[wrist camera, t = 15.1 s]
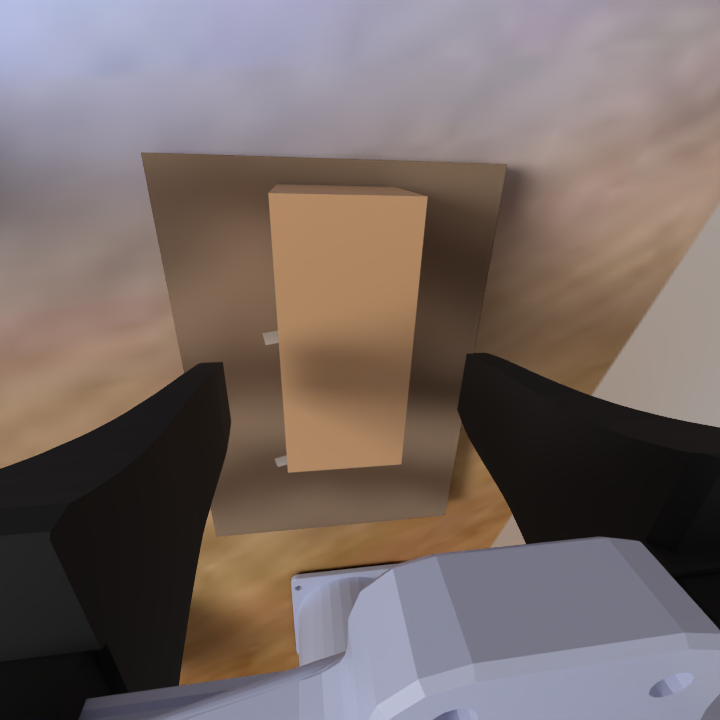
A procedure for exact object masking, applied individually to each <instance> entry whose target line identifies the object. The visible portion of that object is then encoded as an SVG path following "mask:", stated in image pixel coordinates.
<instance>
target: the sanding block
mask: <svg viewBox="0 0 720 720" xmlns="http://www.w3.org/2000/svg"><path fill="white" fill-rule="evenodd" d="M268 196H269V210H270V224H271V239H272V253H273V267H274V281H275V296H276V310H277V324H278V338H279V353H280V367H281V381H282V396H283V410H284V424H285V438H286V453H287V467H288V473H291V472H304V471H318V470H331V469H345V468H358V467H372V466H385V465H399V464H401V462H402V452H403V442H404V432H405V421H406V411H407V401H408V391H409V381H410V371H411V360H412V350H413V340H414V330H415V320H416V309H417V299H418V289H419V279H420V269H421V259H422V248H423V238H424V228H425V218H426V208H427V198H428V196H424V195H421V194H418V193H414V192H411V191H407V190H404V189H400V188H397V187H394V186H374V185H332V184H290V183H277V184H276V185H275V186H274V187H273V188H272V190H271V191H270V192H269V193H268Z"/></svg>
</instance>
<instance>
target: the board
mask: <svg viewBox="0 0 720 720" xmlns="http://www.w3.org/2000/svg"><path fill="white" fill-rule="evenodd" d="M141 156H142V161H143V166H144V171H145V176H146V181H147V186H148V191H149V197H150V202H151V207H152V212H153V217H154V222H155V227H156V232H157V237H158V242H159V247H160V252H161V258H162V263H163V268H164V273H165V278H166V283H167V288H168V293H169V298H170V303H171V308H172V313H173V318H174V324H175V329H176V334H177V339H178V344H179V349H180V354H181V359H182V364H183V369H184V373H185V372H187V371H188V370H190V369H191V368H193V367H194V366H196V365H197V364H199V363H208V362H223V366H224V374H225V381H226V388H227V395H228V402H229V409H230V416H231V428H230V436H229V442H228V449H227V453H226V457H225V460H224V464H223V467H222V471H221V474H220V477H219V481H218V484H217V487H216V490H215V494H214V497H213V500H212V504H211V511H212V517H213V522H214V527H215V532H216V537H219V536H229V535H240V534H251V533H261V532H272V531H283V530H293V529H304V528H315V527H325V526H336V525H347V524H357V523H368V522H379V521H389V520H400V519H411V518H421V517H432V516H443V515H445V514H446V508H447V503H448V497H449V491H450V486H451V480H452V474H453V469H454V463H455V457H456V452H457V446H458V440H459V435H460V429H461V423H462V421H461V418H460V416H459V413H458V411H457V408H458V402H459V396H460V390H461V384H462V378H463V372H464V366H465V360H466V354H470V353H474V349H475V344H476V338H477V332H478V326H479V321H480V315H481V309H482V304H483V298H484V292H485V287H486V281H487V275H488V270H489V264H490V258H491V253H492V247H493V241H494V235H495V230H496V224H497V218H498V213H499V207H500V201H501V196H502V190H503V184H504V179H505V173H506V167H507V164H485V163H453V162H422V161H391V160H359V159H328V158H297V157H266V156H234V155H203V154H172V153H141ZM277 183H290V184H332V185H374V186H394V187H397V188H400V189H404V190H407V191H411V192H414V193H418V194H421V195H424V196H428V198H427V208H426V218H425V228H424V238H423V248H422V259H421V269H420V279H419V289H418V299H417V309H416V320H415V330H414V340H413V350H412V360H411V371H410V381H409V391H408V401H407V411H406V421H405V432H404V442H403V452H402V462H401V464H399V465H385V466H372V467H358V468H345V469H331V470H318V471H304V472H291V473H288V467H287V453H286V438H285V424H284V410H283V396H282V381H281V367H280V353H279V338H278V324H277V310H276V296H275V281H274V267H273V253H272V239H271V224H270V210H269V196H268V193H269V192H270V191H271V190H272V188H273V187H274V186H275V185H276V184H277Z"/></svg>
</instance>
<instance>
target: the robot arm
mask: <svg viewBox="0 0 720 720" xmlns="http://www.w3.org/2000/svg"><path fill="white" fill-rule="evenodd" d="M457 411H458V413H459V416H460V418H461V421H462V424H463V426H464V428H465V431H466V433H467V435H468V437H469V439H470V441H471V443H472V444H473V446H474V448H475V449H476V451H477V453H478V455H479V456H480V458H481V460H482V461H483V463H484V465H485V466H486V468H487V469H488V471H489V473H490V474H491V476H492V478H493V479H494V481H495V483H496V484H497V486H498V488H499V489H500V491H501V493H502V494H503V496H504V498H505V500H506V502H507V504H508V505H509V507H510V509H511V512H512V514H513V516H514V518H515V520H516V523H517V525H518V527H519V529H520V531H521V533H522V536H523V538H524V540H525V542H526V544H524V545H515V546H505V547H495V548H486V549H476V550H467V551H458V552H448V553H439V554H431V555H428V556H424V557H421V558H417V559H413V560H410V561H406V562H403V563H399V564H388V565H379V566H370V567H361V568H352V569H342V570H333V571H324V572H315V573H306V574H297V575H295V576H293V577H292V579H291V587H292V599H293V612H294V625H295V637H296V650H297V654H299V667H297V668H294V669H291V670H288V671H281V672H274V673H267V674H260V675H253V676H246V677H238V678H231V679H224V680H217V681H210V682H203V683H196V684H188V685H181V686H179V680H180V672H181V664H182V657H183V651H184V644H185V637H186V630H187V624H188V617H189V610H190V604H191V598H192V593H193V587H194V581H195V575H196V569H197V563H198V558H199V553H200V547H201V542H202V537H203V532H204V528H205V524H206V520H207V517H208V513H209V510H210V507H211V504H212V500H213V497H214V494H215V490H216V487H217V484H218V481H219V477H220V474H221V471H222V467H223V464H224V460H225V457H226V453H227V449H228V442H229V436H230V428H231V416H230V409H229V402H228V395H227V388H226V381H225V374H224V366H223V362H208V363H199V364H197V365H196V366H194V367H193V368H191V369H190V370H188V371H187V372H185V373H184V374H183V375H181V376H180V377H178V378H177V379H176V380H174V381H173V382H171V383H170V384H169V385H167V386H166V387H164V388H163V389H162V390H160V391H159V392H157V393H156V394H154V395H153V396H151V397H150V398H148V399H147V400H145V401H143V402H142V403H140V404H139V405H137V406H136V407H134V408H132V409H131V410H129V411H128V412H126V413H124V414H123V415H121V416H119V417H117V418H116V419H114V420H112V421H110V422H108V423H107V424H105V425H103V426H101V427H99V428H97V429H95V430H93V431H91V432H89V433H87V434H85V435H83V436H81V437H78V438H76V439H74V440H71V441H69V442H67V443H65V444H62V445H60V446H58V447H55V448H53V449H51V450H48V451H46V452H44V453H42V454H39V455H37V456H34V457H31V458H29V459H26V460H23V461H21V462H18V463H15V464H13V465H10V466H7V467H4V468H1V469H0V720H720V428H718V427H714V426H708V425H702V424H697V423H691V422H686V421H682V420H677V419H672V418H667V417H663V416H659V415H655V414H651V413H647V412H643V411H639V410H635V409H632V408H628V407H624V406H621V405H618V404H615V403H611V402H609V401H605V400H602V399H599V398H596V397H593V396H590V395H587V394H585V393H582V392H579V391H577V390H574V389H572V388H569V387H567V386H564V385H562V384H559V383H557V382H554V381H552V380H550V379H547V378H545V377H543V376H540V375H538V374H536V373H534V372H531V371H529V370H527V369H525V368H523V367H520V366H518V365H516V364H514V363H511V362H509V361H507V360H504V359H502V358H499V357H497V356H494V355H491V354H488V353H470V354H466V360H465V366H464V372H463V378H462V384H461V390H460V396H459V402H458V408H457Z"/></svg>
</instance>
